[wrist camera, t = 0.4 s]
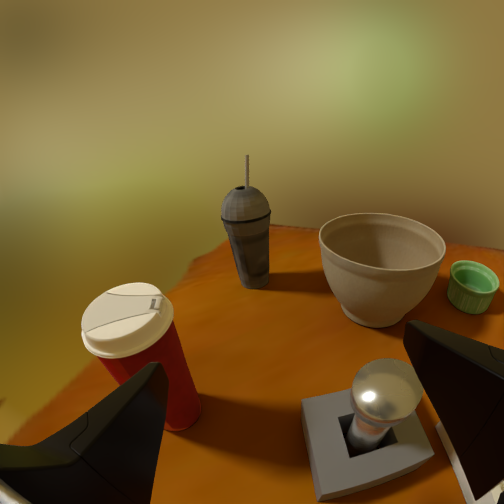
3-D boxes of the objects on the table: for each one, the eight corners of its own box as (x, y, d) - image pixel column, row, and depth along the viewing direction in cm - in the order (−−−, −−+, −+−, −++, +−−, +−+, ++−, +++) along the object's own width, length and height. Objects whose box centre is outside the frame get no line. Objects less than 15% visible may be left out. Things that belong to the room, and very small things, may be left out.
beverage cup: (233, 271, 48) (215, 156, 39) (275, 267, 48) (263, 150, 39) (231, 296, 42) (207, 163, 33) (279, 291, 41) (266, 156, 32)
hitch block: (416, 469, 14) (434, 454, 12) (317, 502, 14) (322, 494, 12) (386, 397, 22) (397, 374, 20) (300, 419, 22) (301, 399, 20)
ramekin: (492, 292, 31) (499, 269, 29) (487, 324, 26) (498, 299, 24) (449, 277, 37) (455, 254, 35) (438, 306, 32) (445, 280, 30)
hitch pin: (388, 459, 16) (434, 402, 11) (338, 475, 16) (365, 428, 11) (374, 421, 20) (405, 350, 15) (328, 433, 20) (343, 368, 15)
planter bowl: (434, 350, 25) (462, 274, 21) (307, 341, 31) (307, 263, 26) (419, 278, 39) (430, 215, 34) (326, 271, 44) (326, 209, 40)
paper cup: (210, 378, 28) (174, 272, 21) (213, 438, 21) (161, 339, 15) (145, 384, 27) (92, 285, 21) (138, 439, 20) (59, 346, 14)
